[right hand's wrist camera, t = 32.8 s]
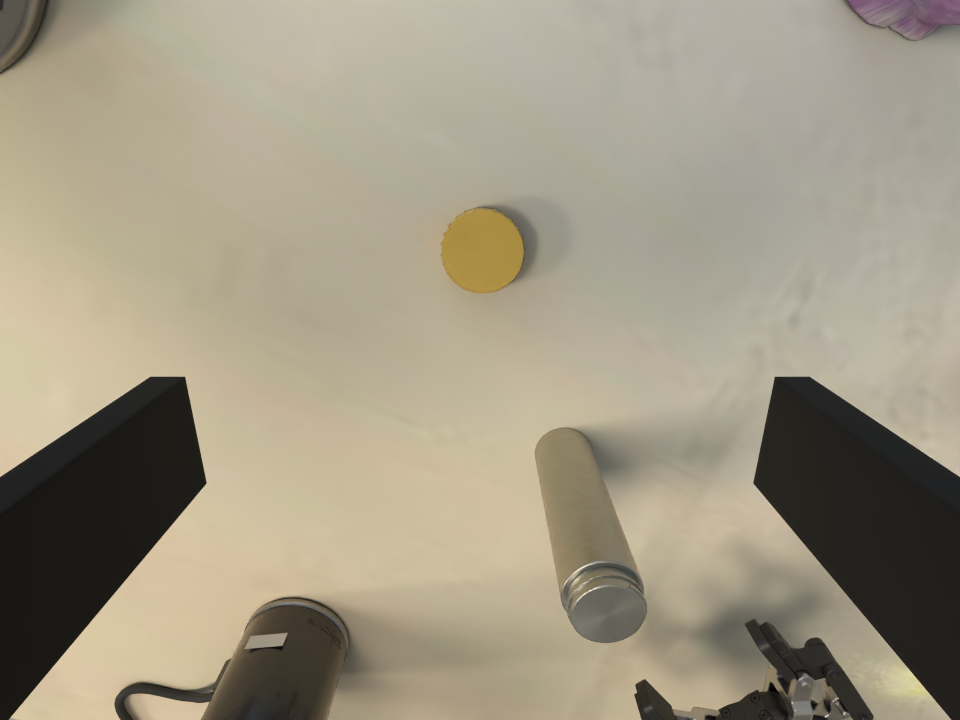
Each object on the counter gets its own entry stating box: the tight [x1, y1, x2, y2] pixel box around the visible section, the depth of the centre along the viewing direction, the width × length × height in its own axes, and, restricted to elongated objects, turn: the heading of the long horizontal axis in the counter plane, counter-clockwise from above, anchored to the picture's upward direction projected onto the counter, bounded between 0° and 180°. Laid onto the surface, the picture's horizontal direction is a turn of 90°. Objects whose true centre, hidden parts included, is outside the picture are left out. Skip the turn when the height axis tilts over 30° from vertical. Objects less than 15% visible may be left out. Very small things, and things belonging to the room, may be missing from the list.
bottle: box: [535, 428, 647, 643], centre depth 36 cm, size 4×4×17 cm
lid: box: [441, 207, 524, 293], centre depth 38 cm, size 6×6×2 cm
